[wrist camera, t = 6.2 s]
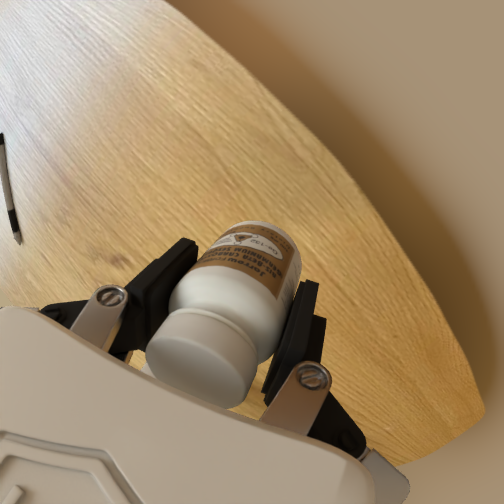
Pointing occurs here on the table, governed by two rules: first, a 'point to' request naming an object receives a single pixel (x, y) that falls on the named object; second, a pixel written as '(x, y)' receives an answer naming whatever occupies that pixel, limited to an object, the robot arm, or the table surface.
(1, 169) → the pen
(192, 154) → the table surface
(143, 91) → the table surface
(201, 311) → the pill bottle
